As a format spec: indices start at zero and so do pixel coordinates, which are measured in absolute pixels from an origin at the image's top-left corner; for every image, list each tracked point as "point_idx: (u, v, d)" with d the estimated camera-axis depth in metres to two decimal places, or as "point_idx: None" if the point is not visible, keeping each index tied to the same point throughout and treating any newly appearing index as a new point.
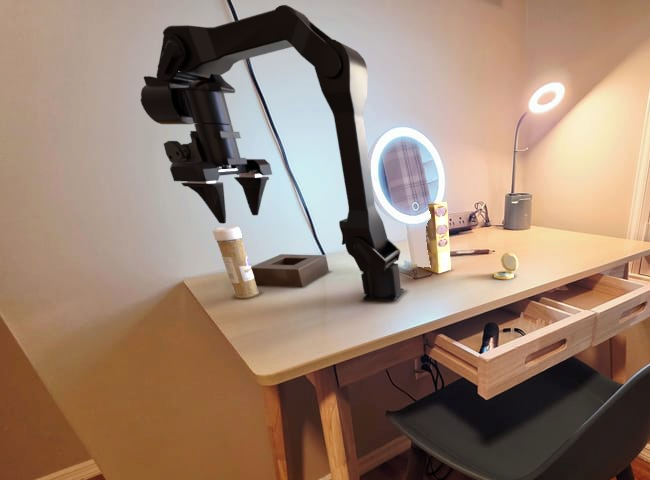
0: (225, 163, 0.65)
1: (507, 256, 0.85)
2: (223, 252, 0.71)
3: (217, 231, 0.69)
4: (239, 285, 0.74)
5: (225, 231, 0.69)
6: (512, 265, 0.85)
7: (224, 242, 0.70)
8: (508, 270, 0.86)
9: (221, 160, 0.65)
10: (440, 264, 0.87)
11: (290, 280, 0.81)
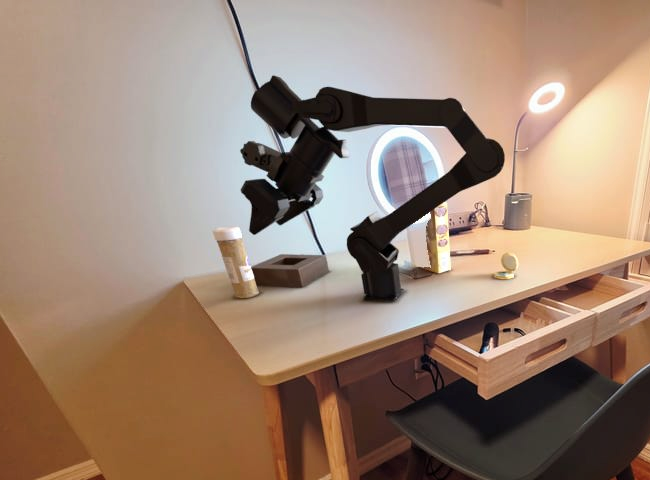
0: (295, 198, 0.65)
1: (507, 256, 0.85)
2: (223, 252, 0.71)
3: (217, 231, 0.69)
4: (239, 285, 0.74)
5: (225, 231, 0.69)
6: (512, 265, 0.85)
7: (224, 242, 0.70)
8: (508, 270, 0.86)
9: (294, 193, 0.65)
10: (440, 264, 0.87)
11: (290, 280, 0.81)
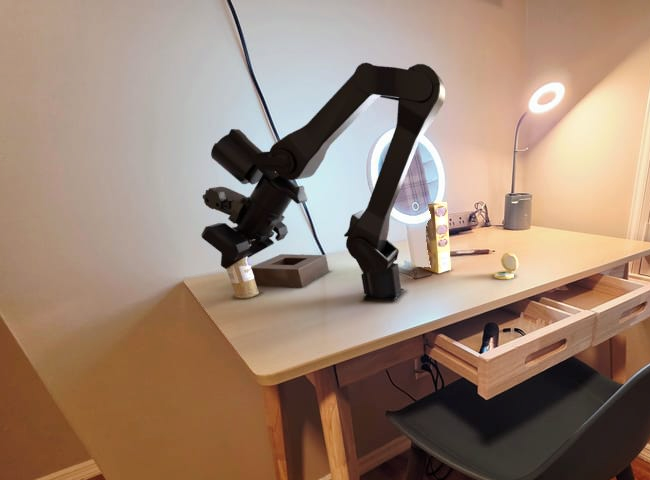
0: (256, 238, 0.69)
1: (507, 256, 0.85)
2: None
3: None
4: (239, 285, 0.74)
5: None
6: (512, 265, 0.85)
7: None
8: (508, 270, 0.86)
9: (254, 235, 0.69)
10: (440, 264, 0.87)
11: (290, 280, 0.81)
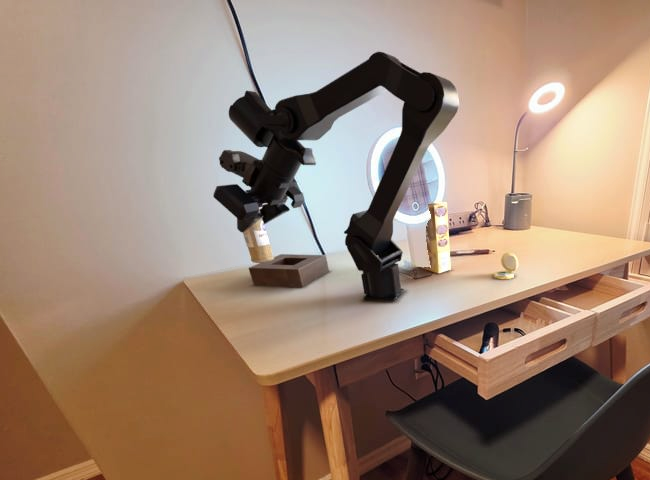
0: (267, 202, 0.70)
1: (507, 256, 0.85)
2: None
3: None
4: (254, 250, 0.77)
5: None
6: (512, 265, 0.85)
7: None
8: (508, 270, 0.86)
9: (266, 198, 0.70)
10: (440, 264, 0.87)
11: (290, 280, 0.81)
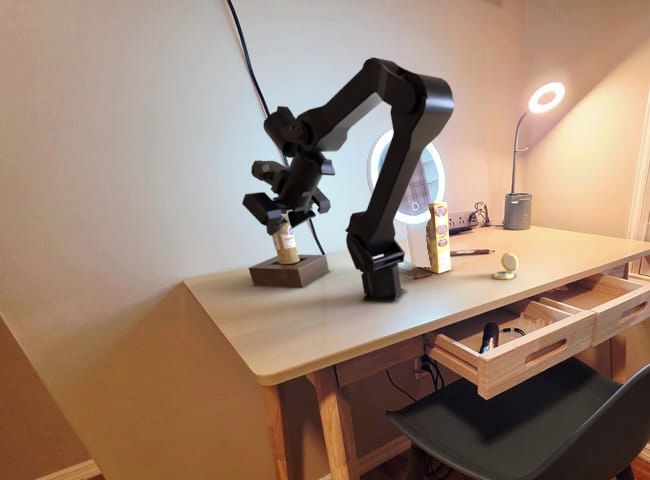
0: (292, 208, 0.75)
1: (507, 256, 0.85)
2: None
3: None
4: (281, 252, 0.82)
5: None
6: (512, 265, 0.85)
7: None
8: (508, 270, 0.86)
9: (291, 205, 0.75)
10: (440, 264, 0.87)
11: (290, 280, 0.81)
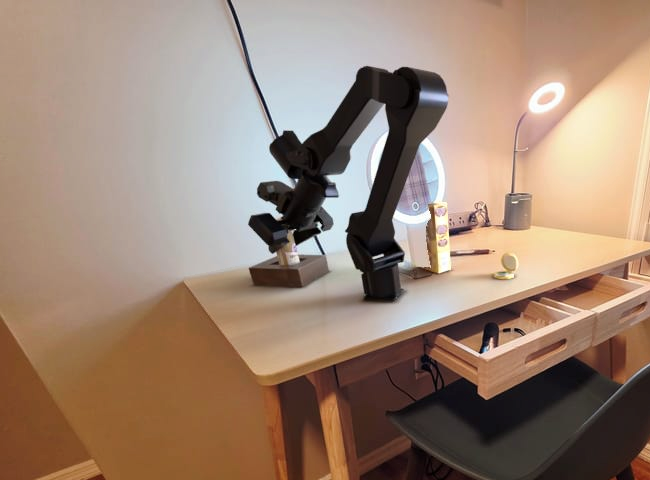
0: (296, 228, 0.77)
1: (507, 256, 0.85)
2: None
3: None
4: None
5: None
6: (512, 265, 0.85)
7: None
8: (508, 270, 0.86)
9: (295, 225, 0.77)
10: (440, 264, 0.87)
11: (290, 280, 0.81)
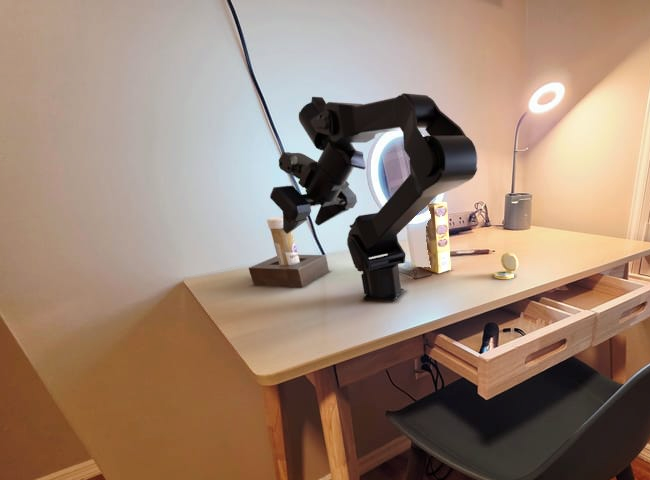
0: (320, 203, 0.72)
1: (507, 256, 0.85)
2: (273, 239, 0.81)
3: (269, 220, 0.79)
4: None
5: (275, 220, 0.79)
6: (512, 265, 0.85)
7: (274, 230, 0.80)
8: (508, 270, 0.86)
9: (319, 199, 0.72)
10: (440, 264, 0.87)
11: (290, 280, 0.81)
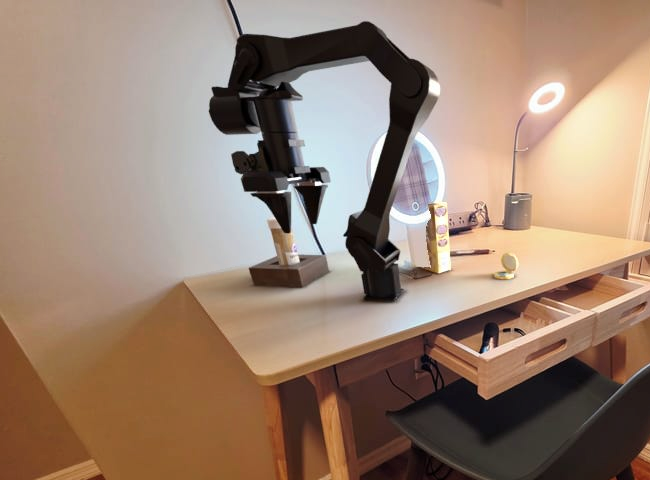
0: (292, 172, 0.64)
1: (507, 256, 0.85)
2: (273, 239, 0.81)
3: (269, 220, 0.79)
4: None
5: (275, 220, 0.79)
6: (512, 265, 0.85)
7: (274, 230, 0.80)
8: (508, 270, 0.86)
9: (288, 169, 0.64)
10: (440, 264, 0.87)
11: (290, 280, 0.81)
